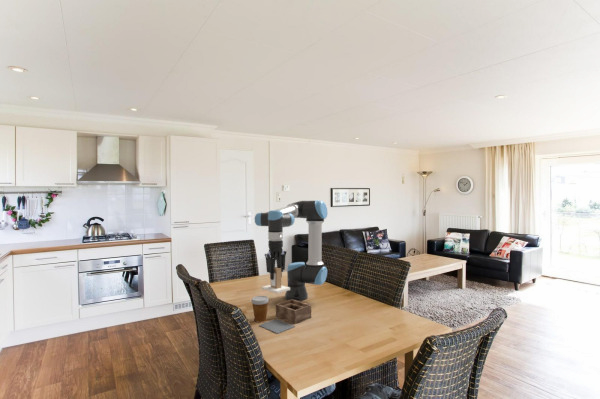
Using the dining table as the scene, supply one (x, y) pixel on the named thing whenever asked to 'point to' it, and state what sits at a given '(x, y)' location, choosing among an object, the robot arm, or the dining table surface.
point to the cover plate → (278, 287)
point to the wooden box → (293, 311)
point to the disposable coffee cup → (260, 308)
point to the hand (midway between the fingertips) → (276, 284)
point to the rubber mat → (277, 326)
